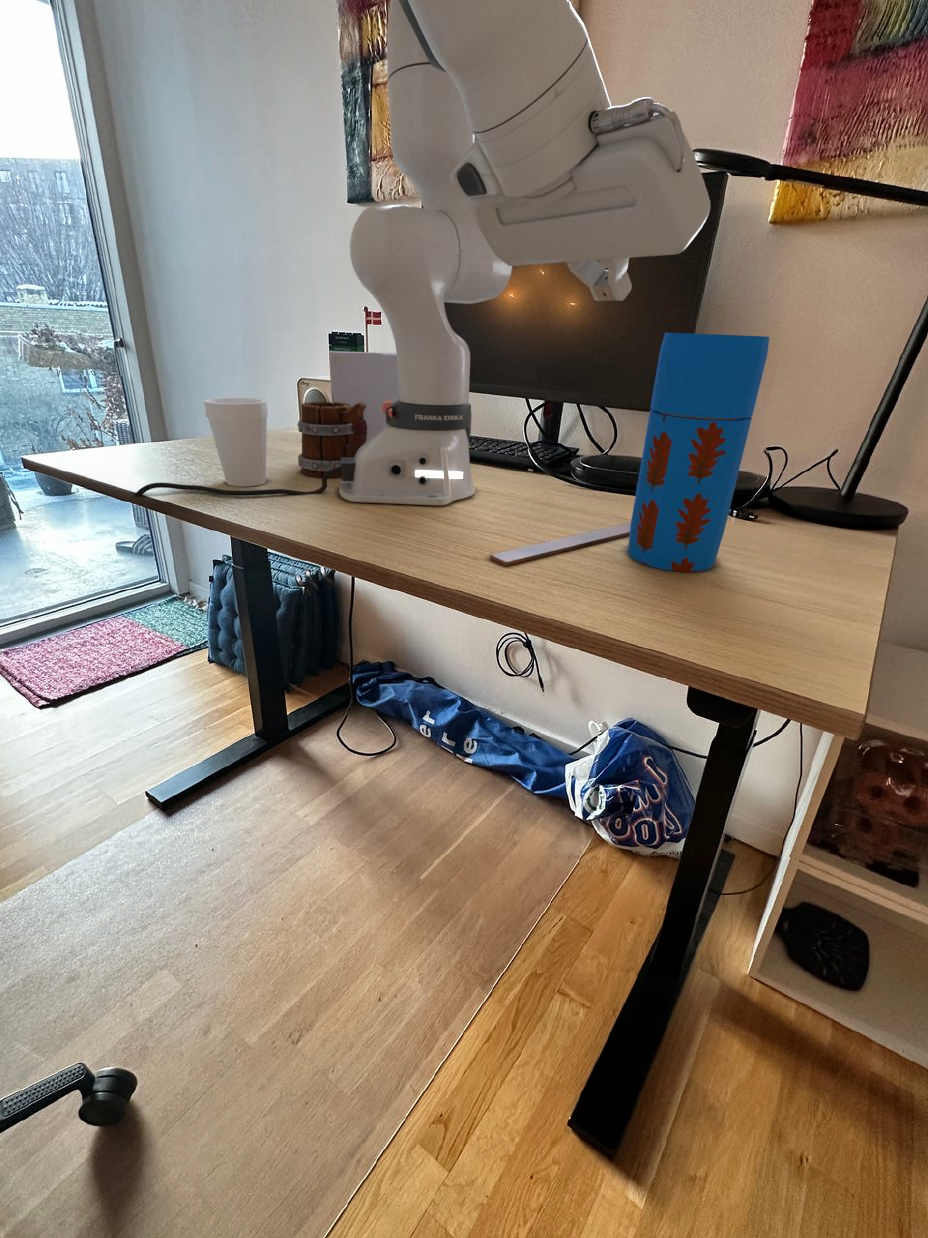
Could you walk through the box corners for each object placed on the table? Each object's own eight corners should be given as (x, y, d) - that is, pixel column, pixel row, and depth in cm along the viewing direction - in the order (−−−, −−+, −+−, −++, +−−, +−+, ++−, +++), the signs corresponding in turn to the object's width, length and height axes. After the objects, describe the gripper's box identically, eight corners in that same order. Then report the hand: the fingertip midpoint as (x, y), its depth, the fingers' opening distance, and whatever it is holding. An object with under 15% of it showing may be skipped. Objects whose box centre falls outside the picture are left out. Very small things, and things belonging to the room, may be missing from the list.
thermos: (727, 575, 67) (788, 337, 56) (634, 569, 68) (676, 332, 57) (702, 545, 77) (751, 336, 66) (621, 539, 78) (655, 332, 67)
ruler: (506, 566, 68) (506, 562, 67) (489, 558, 70) (490, 554, 70) (663, 526, 84) (663, 523, 84) (646, 521, 86) (646, 518, 86)
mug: (328, 459, 116) (333, 381, 108) (381, 483, 110) (390, 402, 102) (281, 468, 107) (282, 383, 99) (336, 495, 101) (343, 407, 93)
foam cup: (234, 474, 103) (223, 396, 97) (284, 477, 102) (276, 399, 96) (205, 486, 95) (192, 402, 89) (259, 490, 94) (249, 405, 88)
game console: (467, 458, 124) (471, 356, 115) (337, 460, 117) (331, 351, 108) (459, 452, 129) (463, 354, 120) (335, 455, 122) (328, 350, 113)
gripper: (700, 50, 34) (745, 262, 44) (483, 125, 48) (554, 272, 58) (638, 130, 33) (698, 326, 43) (437, 182, 48) (517, 320, 58)
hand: (614, 295), depth 51 cm, fingers closed
